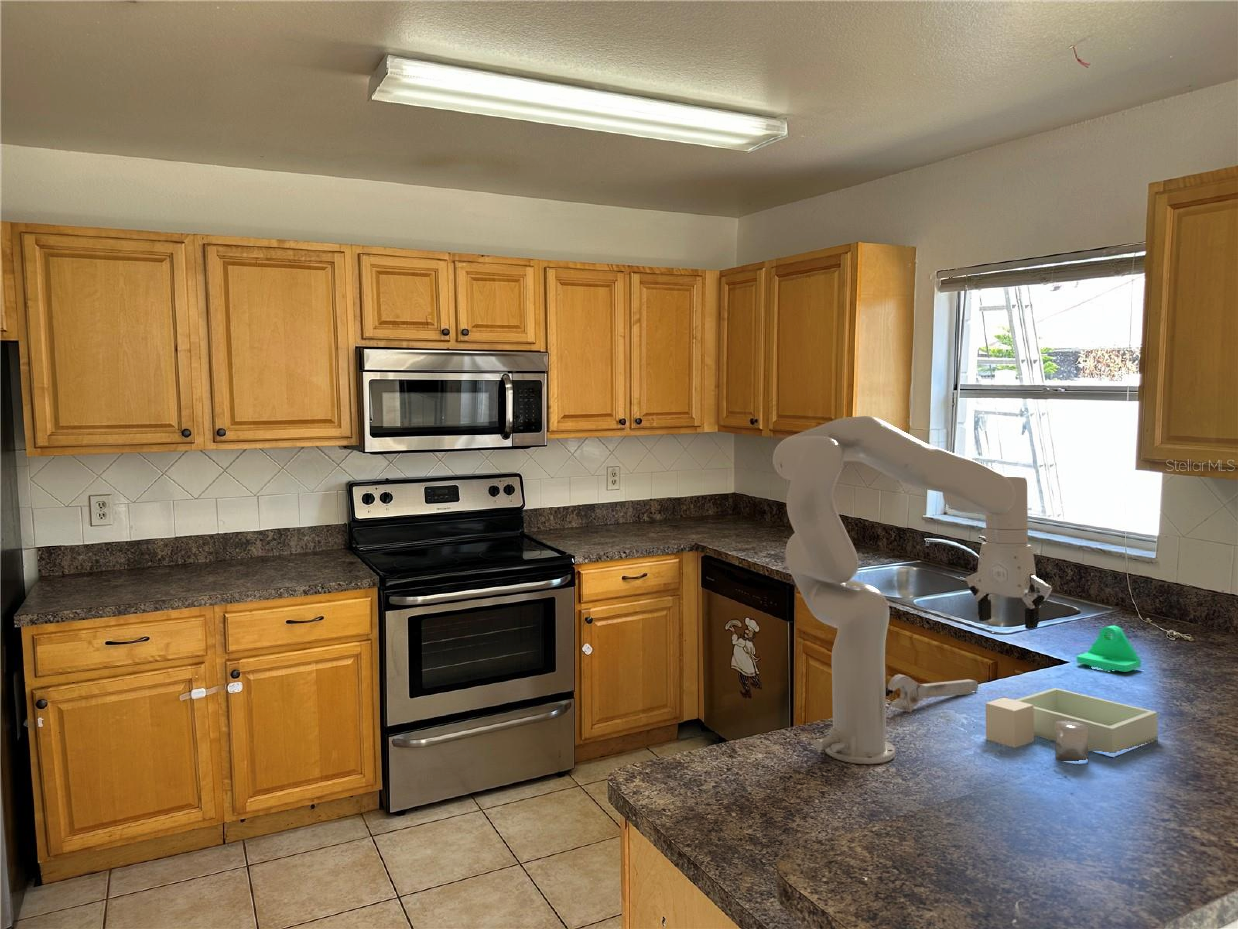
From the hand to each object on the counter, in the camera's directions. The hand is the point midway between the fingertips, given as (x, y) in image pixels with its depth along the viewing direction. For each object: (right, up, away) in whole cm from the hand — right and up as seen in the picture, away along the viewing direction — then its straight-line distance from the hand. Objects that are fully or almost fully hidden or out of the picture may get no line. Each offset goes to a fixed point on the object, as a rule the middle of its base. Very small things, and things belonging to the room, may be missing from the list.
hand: (1007, 624), depth 166 cm
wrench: (-7, -21, +19) cm, 30 cm away
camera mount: (+45, -20, +44) cm, 66 cm away
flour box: (-2, -21, -5) cm, 22 cm away
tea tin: (+5, -21, -15) cm, 26 cm away
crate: (+13, -21, -2) cm, 25 cm away
